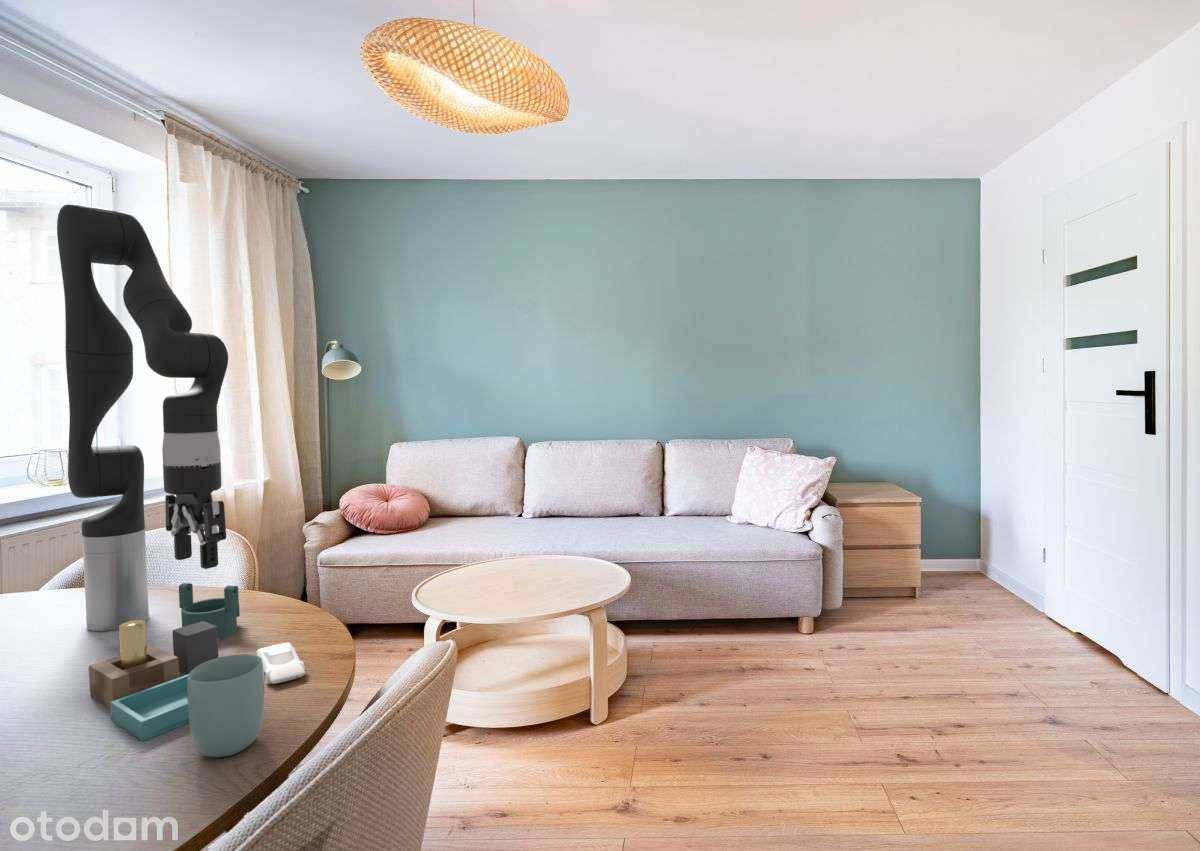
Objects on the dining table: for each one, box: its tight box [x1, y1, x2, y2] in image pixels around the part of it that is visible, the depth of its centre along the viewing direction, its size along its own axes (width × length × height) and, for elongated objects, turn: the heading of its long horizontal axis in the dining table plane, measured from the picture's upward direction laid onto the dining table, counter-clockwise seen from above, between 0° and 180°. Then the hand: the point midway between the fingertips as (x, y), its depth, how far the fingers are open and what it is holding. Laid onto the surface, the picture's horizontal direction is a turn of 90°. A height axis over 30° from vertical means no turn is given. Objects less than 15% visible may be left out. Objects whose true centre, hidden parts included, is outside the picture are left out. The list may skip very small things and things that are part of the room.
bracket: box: [178, 582, 240, 640], centre depth 110 cm, size 9×9×9 cm
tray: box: [110, 674, 189, 742], centre depth 83 cm, size 9×12×2 cm
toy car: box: [255, 641, 306, 685], centre depth 95 cm, size 6×12×3 cm, turn 38°
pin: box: [118, 620, 147, 670], centre depth 88 cm, size 3×3×10 cm
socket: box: [88, 644, 180, 710], centre depth 88 cm, size 8×8×4 cm
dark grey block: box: [171, 621, 220, 675], centre depth 97 cm, size 4×4×6 cm
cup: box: [187, 653, 265, 758], centre depth 74 cm, size 8×8×10 cm
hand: (196, 563), depth 97 cm, fingers open, 8 cm apart
